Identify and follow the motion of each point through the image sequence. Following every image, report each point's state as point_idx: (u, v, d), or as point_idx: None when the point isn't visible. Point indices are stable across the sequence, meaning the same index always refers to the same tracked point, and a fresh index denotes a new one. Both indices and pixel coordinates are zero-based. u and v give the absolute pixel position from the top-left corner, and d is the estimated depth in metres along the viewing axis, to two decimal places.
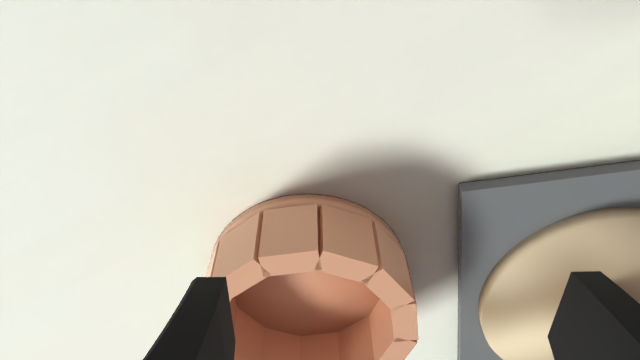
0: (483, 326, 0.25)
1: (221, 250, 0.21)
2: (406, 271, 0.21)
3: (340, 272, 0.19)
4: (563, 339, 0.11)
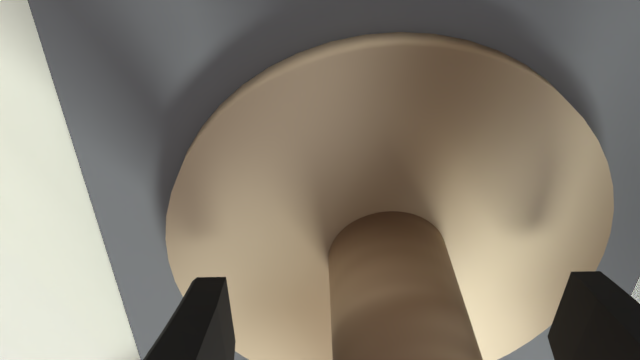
0: None
1: None
2: None
3: None
4: (563, 339, 0.11)
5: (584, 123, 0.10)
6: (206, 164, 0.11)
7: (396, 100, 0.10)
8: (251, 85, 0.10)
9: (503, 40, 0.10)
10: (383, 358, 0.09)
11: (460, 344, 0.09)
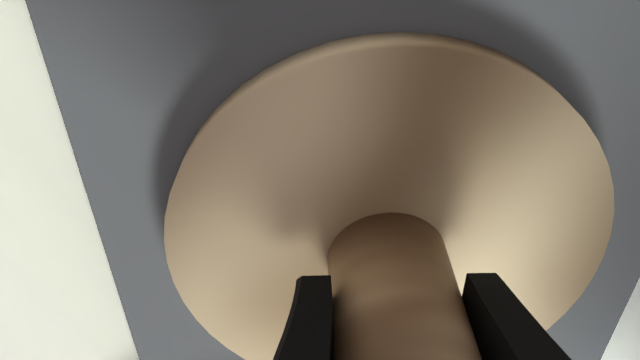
0: None
1: None
2: None
3: None
4: None
5: (584, 124, 0.10)
6: (205, 165, 0.11)
7: (395, 101, 0.10)
8: (250, 86, 0.10)
9: (502, 40, 0.10)
10: None
11: (460, 347, 0.09)
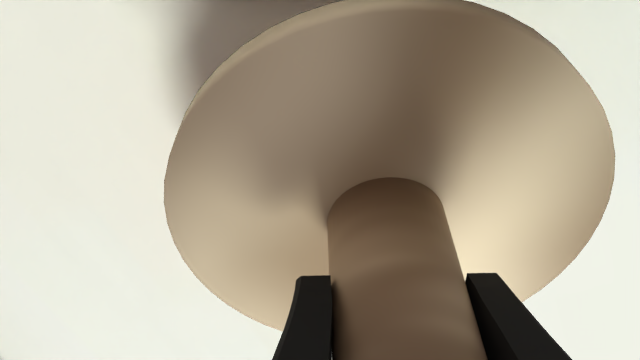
0: None
1: None
2: None
3: None
4: None
5: (590, 91, 0.10)
6: (204, 129, 0.11)
7: (399, 66, 0.10)
8: (250, 48, 0.10)
9: None
10: (381, 326, 0.09)
11: (456, 313, 0.09)
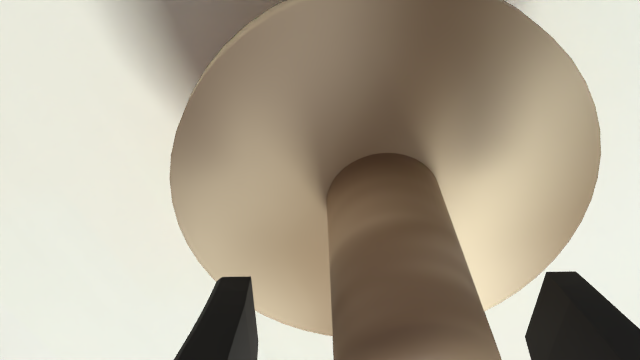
0: None
1: None
2: None
3: None
4: (539, 339, 0.11)
5: (572, 64, 0.11)
6: (211, 102, 0.11)
7: (393, 38, 0.11)
8: (255, 23, 0.11)
9: None
10: (379, 272, 0.09)
11: (452, 262, 0.09)
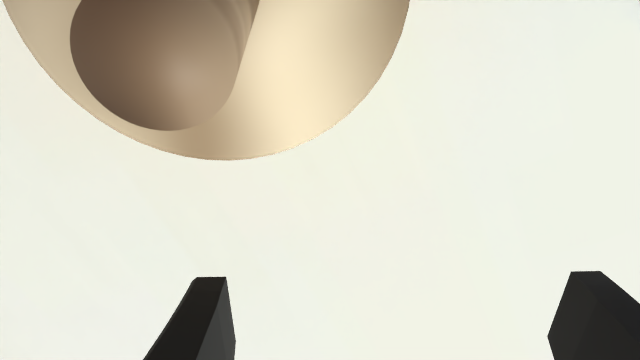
0: (246, 157, 0.16)
1: None
2: None
3: None
4: (563, 339, 0.11)
5: None
6: None
7: None
8: None
9: None
10: None
11: None
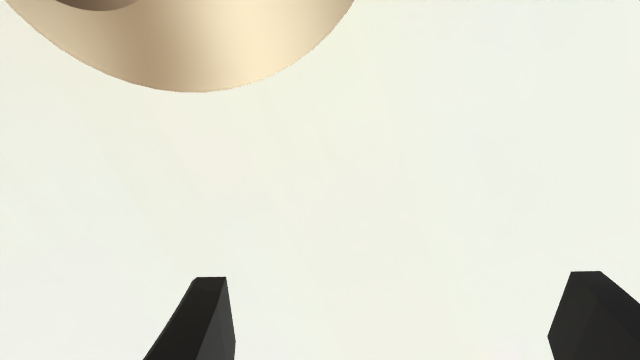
0: (199, 90, 0.15)
1: None
2: None
3: None
4: (563, 339, 0.11)
5: None
6: None
7: None
8: None
9: None
10: None
11: None
